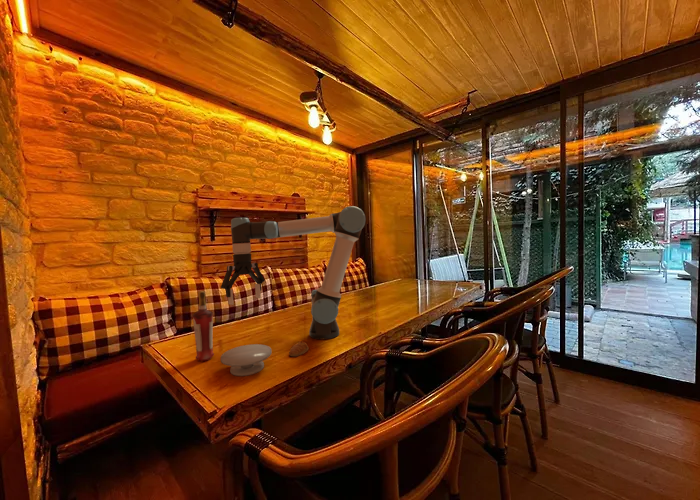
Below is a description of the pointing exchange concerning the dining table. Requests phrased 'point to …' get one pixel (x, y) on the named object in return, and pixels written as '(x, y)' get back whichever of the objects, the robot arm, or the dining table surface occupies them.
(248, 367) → the cake stand
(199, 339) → the ketchup bottle
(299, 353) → the pastry
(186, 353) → the dining table surface
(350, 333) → the dining table surface
